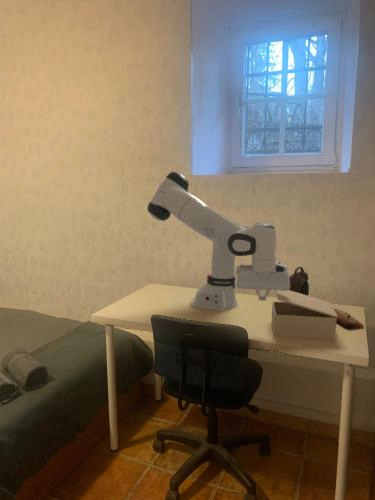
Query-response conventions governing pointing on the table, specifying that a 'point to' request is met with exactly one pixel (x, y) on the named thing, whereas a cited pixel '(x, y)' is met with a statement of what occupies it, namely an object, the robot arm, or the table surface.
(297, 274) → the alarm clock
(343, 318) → the sunglasses case
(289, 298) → the carton flap
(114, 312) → the table surface
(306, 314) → the carton
